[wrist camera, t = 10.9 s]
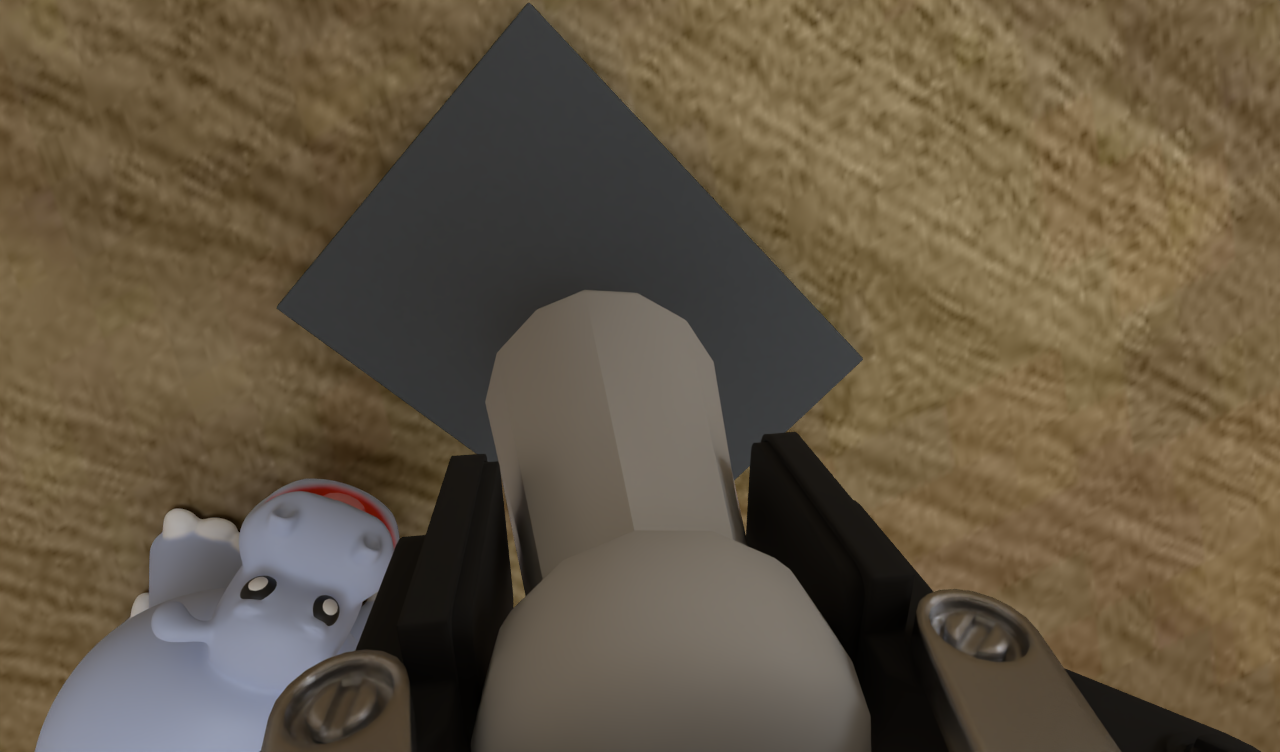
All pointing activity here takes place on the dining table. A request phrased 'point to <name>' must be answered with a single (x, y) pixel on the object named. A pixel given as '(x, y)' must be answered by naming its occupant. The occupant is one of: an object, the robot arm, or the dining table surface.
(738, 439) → the mat
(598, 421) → the salt shaker
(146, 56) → the dining table surface
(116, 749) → the hippopotamus toy
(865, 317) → the dining table surface
